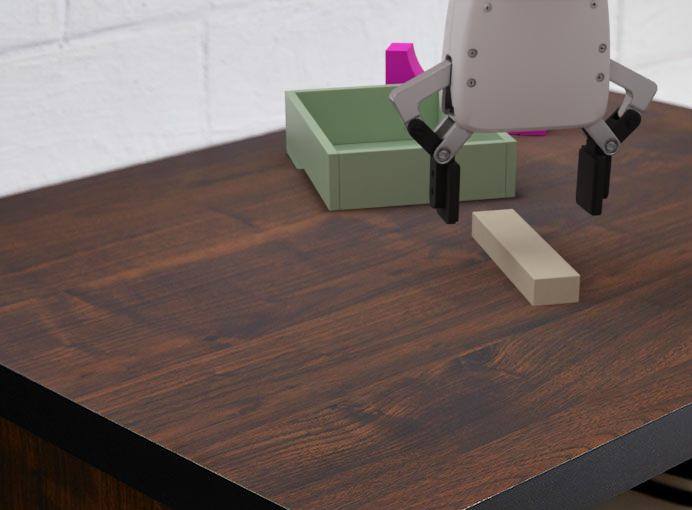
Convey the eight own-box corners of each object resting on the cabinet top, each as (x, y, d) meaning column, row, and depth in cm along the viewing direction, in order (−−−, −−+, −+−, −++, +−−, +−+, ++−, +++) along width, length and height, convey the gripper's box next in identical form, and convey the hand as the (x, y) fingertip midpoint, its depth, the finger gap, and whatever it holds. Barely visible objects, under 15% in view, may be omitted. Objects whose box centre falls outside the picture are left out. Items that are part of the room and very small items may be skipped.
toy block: (549, 119, 134) (553, 40, 131) (545, 135, 128) (549, 54, 125) (396, 114, 137) (396, 37, 134) (385, 130, 131) (385, 50, 128)
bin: (443, 141, 127) (444, 80, 125) (514, 211, 107) (517, 141, 105) (286, 152, 125) (284, 90, 122) (329, 225, 105) (328, 154, 103)
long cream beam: (471, 251, 99) (472, 211, 98) (511, 248, 100) (513, 208, 98) (532, 324, 87) (534, 279, 85) (578, 320, 87) (580, 275, 86)
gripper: (644, -68, 89) (622, 191, 96) (380, -61, 86) (377, 205, 93) (692, -54, 82) (665, 223, 89) (408, -46, 79) (402, 239, 86)
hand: (518, 213), depth 91 cm, fingers open, 9 cm apart
